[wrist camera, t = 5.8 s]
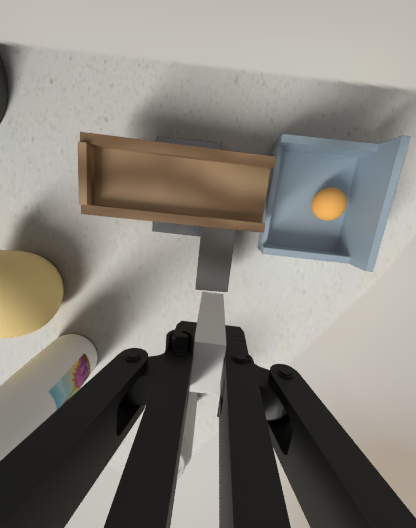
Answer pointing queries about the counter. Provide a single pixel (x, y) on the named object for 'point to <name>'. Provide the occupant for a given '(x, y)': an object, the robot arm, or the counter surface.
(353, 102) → the counter surface
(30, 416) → the milk bottle
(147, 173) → the seesaw chute
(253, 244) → the counter surface
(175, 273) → the counter surface
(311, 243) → the box
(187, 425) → the can
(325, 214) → the ball
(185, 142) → the pivot stand
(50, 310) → the sculpture
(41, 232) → the counter surface
